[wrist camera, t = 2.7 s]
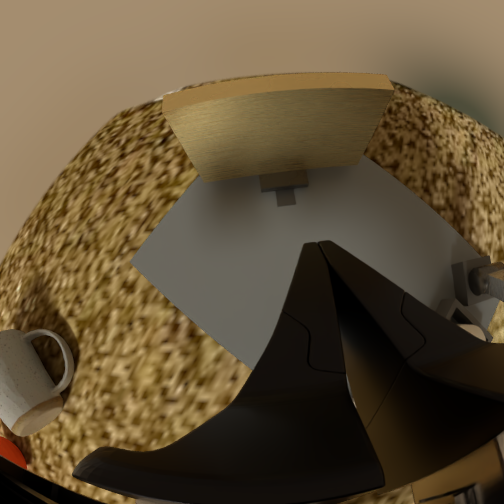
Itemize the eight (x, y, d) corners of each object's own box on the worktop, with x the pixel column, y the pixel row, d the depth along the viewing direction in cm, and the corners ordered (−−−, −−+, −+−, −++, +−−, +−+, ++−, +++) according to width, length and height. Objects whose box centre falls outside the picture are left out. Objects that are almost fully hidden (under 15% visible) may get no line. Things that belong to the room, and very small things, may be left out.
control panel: (384, 448, 16) (403, 473, 12) (144, 267, 20) (115, 258, 16) (487, 287, 17) (519, 282, 13) (273, 118, 22) (271, 84, 18)
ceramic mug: (52, 429, 18) (3, 448, 11) (13, 367, 20) (-37, 372, 12) (96, 377, 19) (36, 395, 12) (50, 306, 21) (-11, 300, 13)
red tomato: (4, 453, 18) (-27, 464, 11) (-3, 417, 19) (-38, 425, 12) (40, 484, 17) (8, 502, 10) (32, 449, 18) (-6, 465, 11)
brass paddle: (358, 182, 17) (402, 106, 9) (207, 200, 18) (160, 129, 10) (348, 144, 18) (378, 61, 10) (205, 161, 18) (165, 81, 10)
